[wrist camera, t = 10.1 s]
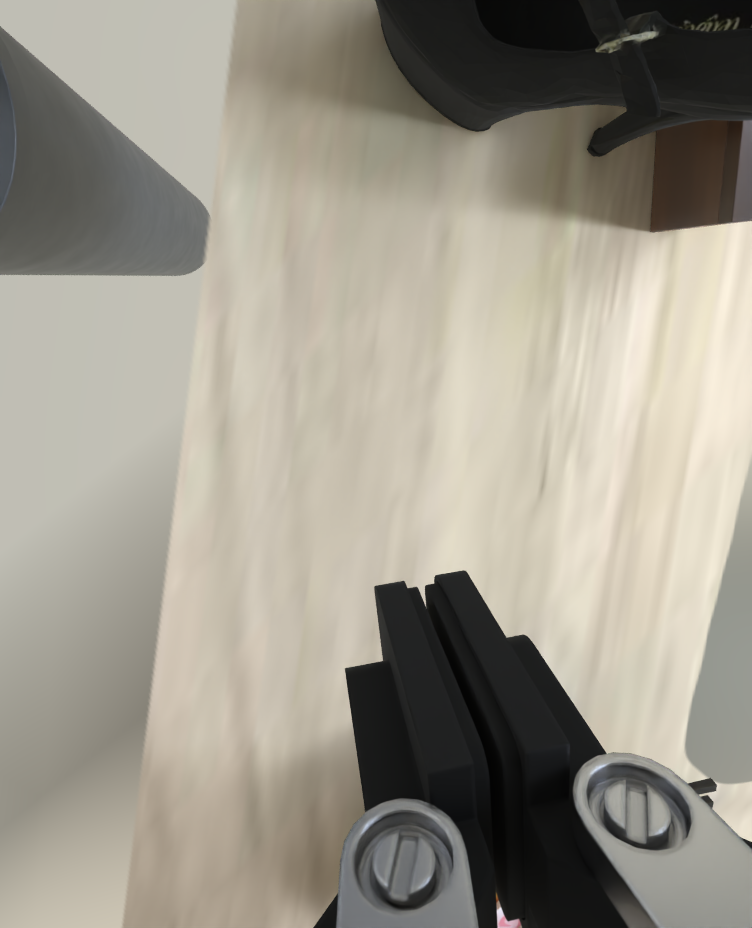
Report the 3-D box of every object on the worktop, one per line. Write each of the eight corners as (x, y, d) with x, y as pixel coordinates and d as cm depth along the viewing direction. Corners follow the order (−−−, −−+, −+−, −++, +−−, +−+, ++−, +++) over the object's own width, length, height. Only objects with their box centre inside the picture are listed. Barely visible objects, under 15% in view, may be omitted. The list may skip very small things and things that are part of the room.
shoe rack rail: (649, 232, 36) (731, 222, 29) (669, -82, 30) (774, -181, 24) (706, 226, 36) (799, 215, 29) (735, -84, 31) (857, -183, 24)
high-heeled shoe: (366, -74, 28) (522, -761, 10) (661, 94, 33) (1152, -147, 14) (317, 92, 30) (366, -208, 12) (601, 227, 35) (963, 170, 16)
